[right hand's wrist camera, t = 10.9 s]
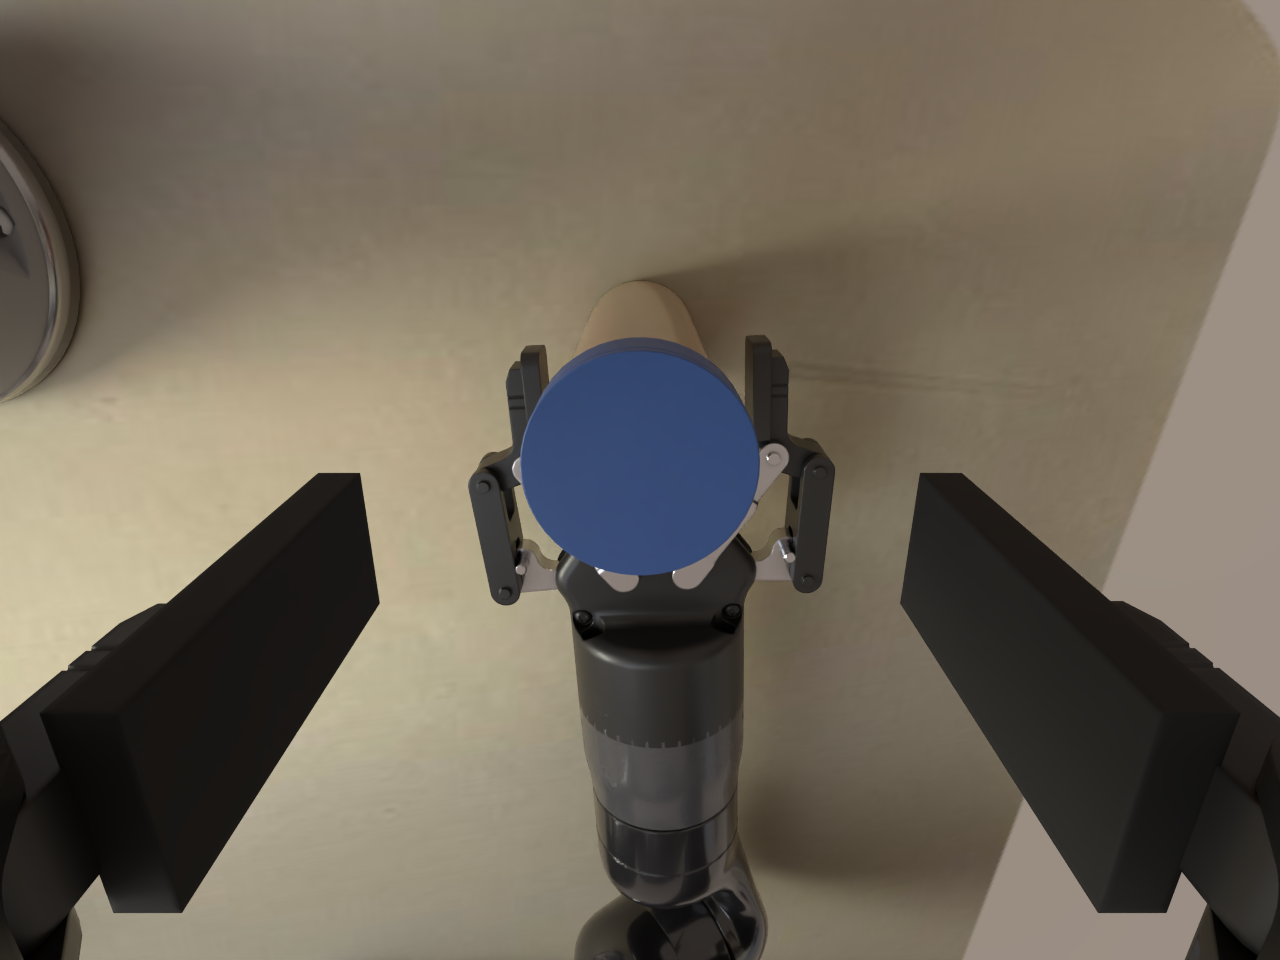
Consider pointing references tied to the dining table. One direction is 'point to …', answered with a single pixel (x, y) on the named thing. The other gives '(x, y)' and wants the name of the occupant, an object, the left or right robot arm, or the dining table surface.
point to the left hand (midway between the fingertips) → (644, 343)
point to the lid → (640, 457)
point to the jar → (639, 317)
